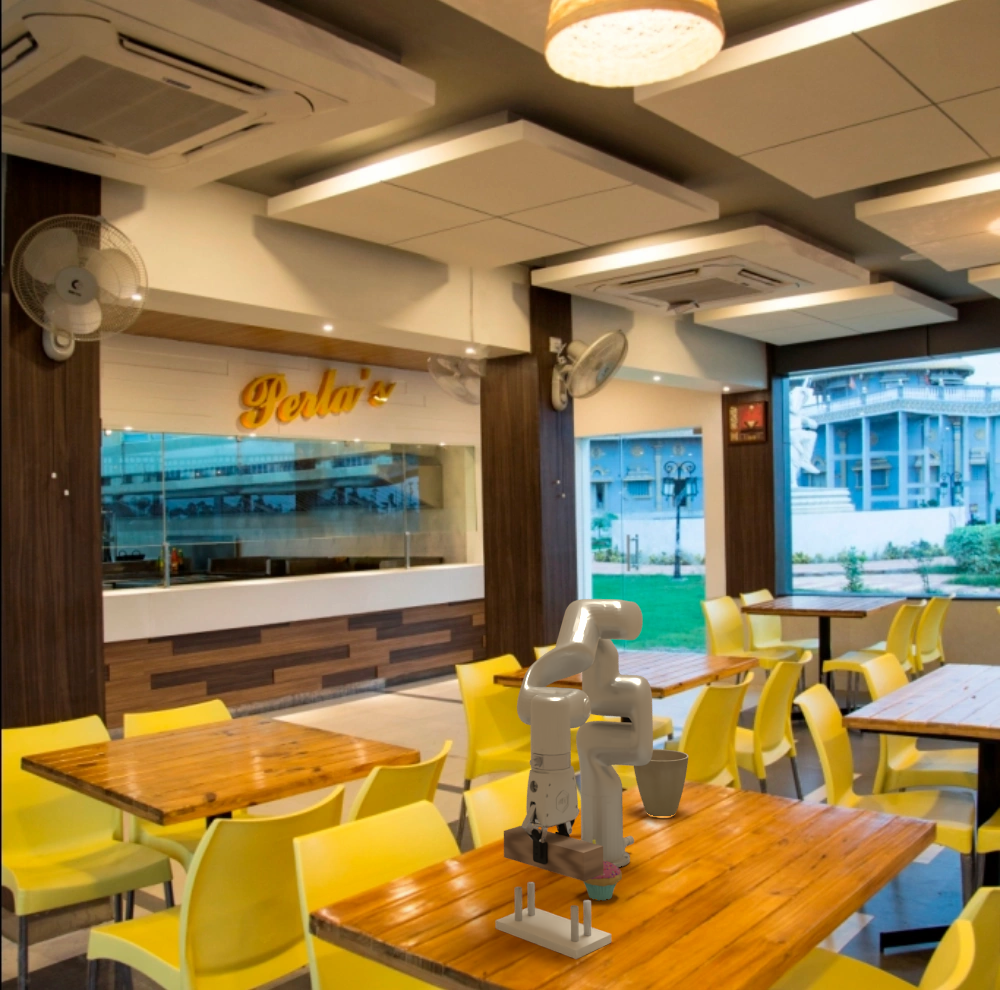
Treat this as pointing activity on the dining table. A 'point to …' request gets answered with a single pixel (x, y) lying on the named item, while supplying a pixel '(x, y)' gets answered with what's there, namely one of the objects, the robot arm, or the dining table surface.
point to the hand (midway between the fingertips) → (551, 857)
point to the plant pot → (662, 781)
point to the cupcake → (603, 881)
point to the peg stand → (553, 927)
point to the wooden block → (556, 854)
